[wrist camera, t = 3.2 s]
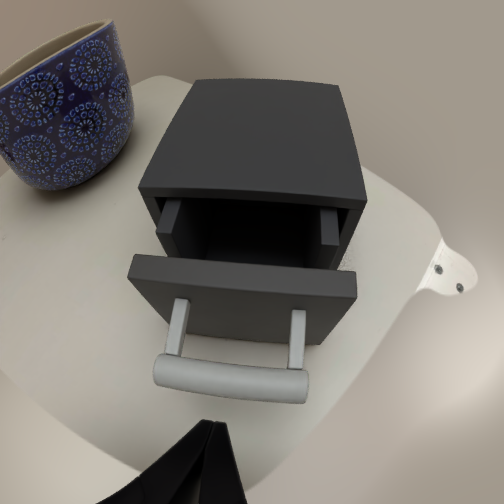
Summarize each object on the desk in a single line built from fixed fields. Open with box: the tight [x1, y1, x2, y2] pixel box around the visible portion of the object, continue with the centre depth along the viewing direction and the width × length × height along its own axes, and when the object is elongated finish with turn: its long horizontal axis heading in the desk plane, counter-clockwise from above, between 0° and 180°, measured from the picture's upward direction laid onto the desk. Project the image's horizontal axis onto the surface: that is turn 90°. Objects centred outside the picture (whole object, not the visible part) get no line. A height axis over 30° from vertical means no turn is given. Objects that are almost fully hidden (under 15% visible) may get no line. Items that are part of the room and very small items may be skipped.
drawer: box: [127, 197, 357, 404], centre depth 16 cm, size 14×9×8 cm, turn 174°
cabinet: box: [138, 79, 367, 270], centre depth 19 cm, size 11×10×9 cm
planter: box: [0, 19, 134, 190], centre depth 23 cm, size 16×16×15 cm
